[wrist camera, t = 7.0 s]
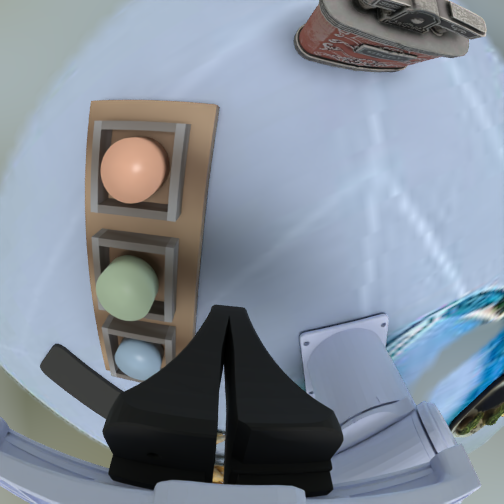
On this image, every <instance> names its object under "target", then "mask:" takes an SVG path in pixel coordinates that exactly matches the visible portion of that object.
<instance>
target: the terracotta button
mask: <svg viewBox="0 0 504 504" xmlns="http://www.w3.org/2000/svg"><path fill="white" fill-rule="evenodd" d="M168 173H169V158H168V155H167V153H166V151H165V149H164V148H163V146H162V145H161V144H160V143H159V142H157V141H156V140H154V139H152V138H149V137H144V136H140V137H131V138H124V139H121V140H119V141H117V142H115V143H114V144H113V145H112V146H110V148H109V149H108V150H107V151H106V153H105V155H104V157H103V159H102V163H101V179H102V182H103V185H104V187H105V189H106V190H107V192H108V193H109V194H110V195H111V196H112V197H113V198H115V199H116V200H118V201H120V202H123V203H130V204H132V203H138V202H141V201H144V200H145V199H147V198H148V197H150V196H151V195H152V194H153V193H155V192H156V191H157V190H159V189H160V188H161V187H162V185H163V184H164V183H165V181H166V179H167V177H168Z"/></svg>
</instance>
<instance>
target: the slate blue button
mask: <svg viewBox="0 0 504 504" xmlns="http://www.w3.org/2000/svg"><path fill="white" fill-rule="evenodd" d="M163 357H164V350H163V348H162V346H161V344H159V343H153V342H147V341H142V340H137V339H132V338H127V337H123V339H122V341H121V343H120V345H119V347H118V349H117V352H116V354H115V362H116V364H117V366H118V367H119V369H120V370H121V371H122V372H123V373H125V374H126V375H128V376H130V377H132V378H134V379H138V380H146V379H148V378H149V377H151V376H152V375H154V374H155V373H157V372H158V371H160V368H161V364H162V360H163Z"/></svg>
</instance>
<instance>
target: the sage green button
mask: <svg viewBox="0 0 504 504" xmlns="http://www.w3.org/2000/svg"><path fill="white" fill-rule="evenodd" d="M158 288H159V282H158V278H157V275H156V273H155V271H154V270H153V268H152V267H151V266H150V265H149V264H148V263H147V262H145V261H144V260H142V259H141V258H138V257H136V256H131V255H124V256H120V257H117V258H116V259H114V260H113V261H112V262H111V263H110V264H109V266H108V267H107V268H106V269H105V270H104V271H103V273H102V274H101V275H100V276H99V278H98V280H97V283H96V294H97V297H98V300H99V302H100V303H101V305H102V306H103V308H104V309H105V310H106V311H107V312H108V313H110V314H111V315H113V316H114V317H116V318H118V319H121V320H125V321H136V320H139V319H142V318H143V317H145V316H146V315H147V314H148V312H149V310H150V308H151V306H152V304H153V301H154V299H155V297H156V295H157V292H158Z"/></svg>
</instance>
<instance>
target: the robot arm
mask: <svg viewBox="0 0 504 504" xmlns="http://www.w3.org/2000/svg"><path fill="white" fill-rule="evenodd" d="M388 320H389V318H388V316H387V315H386V314H380V315H376V316H373V317H369V318H365V319H361V320H357V321H353V322H349V323H345V324H340V325H336V326H332V327H327V328H323V329H318V330H314V331H309V332H304V333H302V334H301V335H300V345H301V353H302V361H303V369H304V377H305V386H306V392H305V391H304V390H302V389H301V388H300V387H299V386H298V385H297V384H296V383H294V382H293V381H292V380H291V379H290V378H289V377H288V376H287V375H286V374H285V373H284V372H283V371H282V369H281V368H280V367H279V366H278V365H277V364H276V362H275V361H274V360H273V358H272V357H271V356H270V354H269V353H268V351H267V350H266V348H265V347H264V345H263V344H262V342H261V341H260V339H259V337H258V335H257V333H256V332H255V330H254V328H253V326H252V324H251V321H250V319H249V317H248V314H247V311H246V309H245V308H243V307H233V306H223V305H214V306H212V308H211V311H210V313H209V315H208V317H207V318H206V320H205V322H204V323H203V325H202V326H201V328H200V329H199V331H198V332H197V334H196V335H195V336H194V337H193V339H192V340H191V341H190V342H189V343H188V345H187V346H186V347H185V348H184V349H183V350H182V351H181V352H180V353H179V354H178V355H177V356H176V357H175V358H174V359H173V360H172V361H171V362H169V363H168V364H167V365H166V366H165V367H163V368H162V369H161V370H160V371H158V372H157V373H155V374H154V375H152V376H151V377H149V378H148V379H146V380H145V381H143V382H142V383H140V384H138V385H136V386H135V387H133V388H131V389H129V390H127V391H125V392H123V393H120V394H119V395H118V397H117V399H116V400H115V402H114V404H113V405H112V407H111V409H110V411H109V413H108V416H107V419H106V422H105V425H104V428H103V431H102V432H103V435H104V438H105V440H106V442H107V444H108V446H109V448H110V449H111V451H112V453H113V457H112V461H111V464H110V468H106V467H103V466H99V465H96V464H93V463H90V462H87V461H84V460H81V459H78V458H75V457H72V456H70V455H67V454H65V453H62V452H59V451H57V450H55V449H52V448H50V447H47V446H45V445H43V444H41V443H38V442H36V441H34V440H32V439H29V438H28V437H26V436H24V435H22V434H20V433H18V432H16V431H14V430H12V429H10V428H9V426H8V425H7V423H6V422H5V421H4V420H3V418H2V417H0V486H2V487H3V488H5V489H6V490H8V491H10V492H11V493H13V494H14V495H16V496H18V497H19V498H21V499H23V500H25V501H26V502H28V503H30V504H461V502H462V501H463V499H464V498H466V497H467V496H469V495H470V494H472V493H473V492H474V491H476V490H477V489H479V488H480V487H481V483H480V481H479V479H478V477H477V474H476V472H475V470H474V468H473V465H472V463H471V461H470V459H469V457H468V455H467V453H466V451H465V449H464V447H463V445H462V444H457V442H456V440H455V438H454V436H453V434H452V433H451V431H450V429H449V427H448V425H447V423H446V422H445V420H444V418H443V416H442V415H441V413H440V411H439V410H438V408H437V407H436V405H435V404H434V403H427V402H426V401H423V402H421V403H420V404H418V406H417V405H416V404H415V402H414V401H413V398H412V397H411V395H410V393H409V391H408V389H407V387H406V385H405V383H404V381H403V379H402V377H401V375H400V374H399V372H398V370H397V368H396V366H395V364H394V362H393V361H392V359H391V357H390V355H389V353H388V352H387V350H386V340H387V330H388ZM382 323H383V324H382ZM381 324H382V325H381ZM306 341H308V342H307V343H304V342H306ZM223 366H224V374H225V393H226V433H225V456H224V478H223V484H214V483H212V482H213V473H214V463H215V452H216V442H217V428H218V403H219V388H220V383H221V377H222V371H223Z"/></svg>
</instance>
